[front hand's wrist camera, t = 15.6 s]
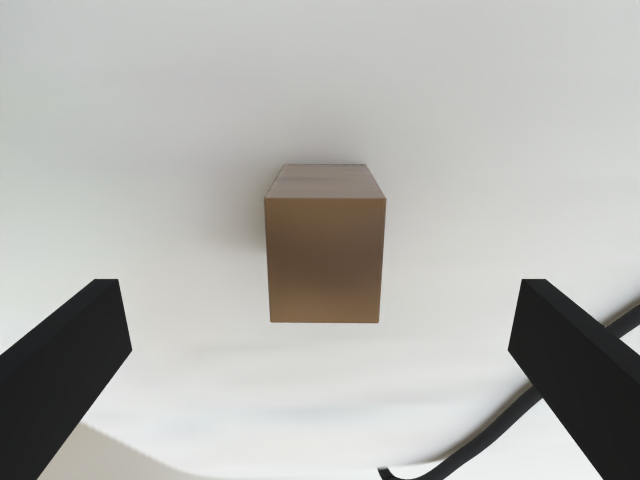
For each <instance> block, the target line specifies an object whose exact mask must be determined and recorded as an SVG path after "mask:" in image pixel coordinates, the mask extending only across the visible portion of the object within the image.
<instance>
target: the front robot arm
mask: <svg viewBox="0 0 640 480" xmlns="http://www.w3.org/2000/svg"><path fill="white" fill-rule="evenodd" d="M638 325H640V305H638V306H637V307H635V308H634V309H632V310H631V311H629V312H628V313H626V314H625V315H623V316H622V317H621V318H619V319H618V320H616V321H615V322H613V323H612V324H611V325H609V326H608V327H606V328H605V327H604V326H603V325H602V324H600V323H599V322H598V321H597V320H595V319H594V318H593V317H592V316H590V315H589V314H588V313H587V312H585V311H584V310H583V309H582V308H581V307H579V306H578V305H577V304H576V303H574V302H573V301H572V300H571V299H569V298H568V297H567V296H566V295H564V294H563V293H562V292H561V291H560V290H558V289H557V288H556V287H555V286H553V285H552V284H551V283H550V282H548V281H547V280H546V279H522V281H521V286H520V291H519V296H518V301H517V306H516V311H515V316H514V321H513V326H512V331H511V336H510V341H509V346H508V351H509V353H510V354H511V355H512V357H513V358H514V360H515V361H516V362H517V364H518V365H519V366H520V368H521V369H522V370H523V372H524V373H525V374H526V376H527V377H528V378H529V380H530V381H531V383H532V384H533V386H532V387H531V388H530V389H528V390H527V391H526V392H525V393H524V394H523V395H522V396H520V397H519V398H518V399H517V400H516V401H515V402H514V403H513V404H512V405H511V406H510V407H509V408H508V409H507V410H505V411H504V412H503V413H502V414H501V415H500V416H499V417H498V418H497V419H496V420H495V421H494V422H493V423H492V424H491V425H490V426H489V427H488V428H486V429H485V430H484V431H483V432H482V433H481V434H479V435H478V436H477V437H476V438H474V439H473V440H472V441H470V442H469V443H468V444H466V445H465V446H463V447H462V448H461V449H459V450H458V451H456V452H455V453H453V454H452V455H451V456H450V457H448V458H447V459H446V460H444V461H443V462H442V463H441V464H439V465H438V466H437V467H435V468H434V469H432V470H431V471H430V472H428V473H426V474H425V475H423V476H421V477H418V478H415V479H407V480H443V479H445V478H446V477H447V476H449V475H450V474H451V473H452V472H454V471H455V470H456V469H458V468H459V467H460V466H462V465H463V464H464V463H466V462H467V461H469V460H470V459H472V458H473V457H475V456H476V455H478V454H479V453H480V452H482V451H483V450H484V449H486V448H487V447H488V446H489V445H491V444H492V443H493V442H494V441H495V440H496V439H498V438H499V437H500V436H501V435H502V434H503V433H504V432H505V431H506V430H507V429H509V428H510V427H511V426H512V425H513V424H514V423H515V422H516V421H517V420H518V419H519V418H520V417H521V416H522V415H523V414H525V413H526V412H527V411H528V410H529V409H530V408H531V407H532V406H534V405H535V404H536V403H537V402H538V401H539V400H541V399H542V398H543V399H544V400H545V401H546V403H547V404H548V405H549V407H550V408H551V410H552V411H553V412H554V414H555V415H556V416H557V418H558V419H559V420H560V422H561V423H562V424H563V426H564V427H565V428H566V430H567V431H568V433H569V434H570V435H571V437H572V438H573V439H574V441H575V442H576V443H577V445H578V446H579V447H580V449H581V450H582V451H583V453H584V454H585V456H586V457H587V458H588V460H589V461H590V462H591V464H592V465H593V466H594V468H595V469H596V470H597V472H598V473H599V474H600V476H601V477H602V478H603V480H640V355H639V354H637V353H636V352H635V351H634V350H632V349H631V348H630V347H629V346H627V345H626V344H625V343H624V342H623V341H621V340H620V339H619V338H621V337H622V336H624V335H625V334H626V333H628V332H629V331H631V330H632V329H634V328H635V327H637V326H638ZM131 351H132V346H131V341H130V336H129V331H128V326H127V321H126V316H125V311H124V306H123V301H122V296H121V291H120V286H119V281H118V279H94V280H93V281H92V282H90V283H89V284H88V285H87V286H85V287H84V288H83V289H82V290H80V291H79V292H78V293H77V294H76V295H74V296H73V297H72V298H71V299H69V300H68V301H67V302H66V303H64V304H63V305H62V306H61V307H59V308H58V309H57V310H56V311H55V312H53V313H52V314H51V315H50V316H48V317H47V318H46V319H45V320H43V321H42V322H41V323H40V324H38V325H37V326H36V327H35V328H34V329H32V330H31V331H30V332H29V333H27V334H26V335H25V336H24V337H22V338H21V339H20V340H19V341H17V342H16V343H15V344H14V345H13V346H11V347H10V348H9V349H8V350H6V351H5V352H4V353H3V354H1V355H0V480H37V478H38V477H39V476H40V474H41V473H42V472H43V470H44V469H45V468H46V466H47V465H48V464H49V462H50V461H51V460H52V458H53V457H54V455H55V454H56V453H57V451H58V450H59V449H60V447H61V446H62V445H63V443H64V442H65V441H66V439H67V438H68V437H69V435H70V434H71V433H72V431H73V430H74V428H75V427H76V426H77V424H78V423H79V422H80V420H81V419H82V418H83V416H84V415H85V414H86V412H87V411H88V410H89V408H90V407H91V405H92V404H93V403H94V401H95V400H96V399H97V397H98V396H99V395H100V393H101V392H102V391H103V389H104V388H105V387H106V385H107V384H108V383H109V381H110V380H111V378H112V377H113V376H114V374H115V373H116V372H117V370H118V369H119V368H120V366H121V365H122V364H123V362H124V361H125V360H126V358H127V357H128V355H129V354H130V353H131ZM377 470H378V472H379V475H380V477H381V478H382V480H406V479H400V478H397V477H395V476H394V475H393V474H392V473H391V472H390V470H389V469H388V467H387V468H377Z"/></svg>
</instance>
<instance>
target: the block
mask: <svg viewBox="0 0 640 480" xmlns="http://www.w3.org/2000/svg"><path fill="white" fill-rule="evenodd" d="M264 210H265V230H266V249H267V268H268V288H269V307H270V322H289V323H378V322H379V311H380V295H381V278H382V262H383V246H384V229H385V213H386V198H385V196H384V194H383V193H382V191H381V189H380V188H379V186H378V184H377V182H376V181H375V179H374V177H373V176H372V174H371V172H370V171H369V169H368V167H367V166H366V165H284V166H283V168H282V169H281V171H280V173H279V174H278V176H277V178H276V179H275V181H274V183H273V184H272V186H271V188H270V189H269V191H268V193H267V194H266V196H265V198H264Z"/></svg>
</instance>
